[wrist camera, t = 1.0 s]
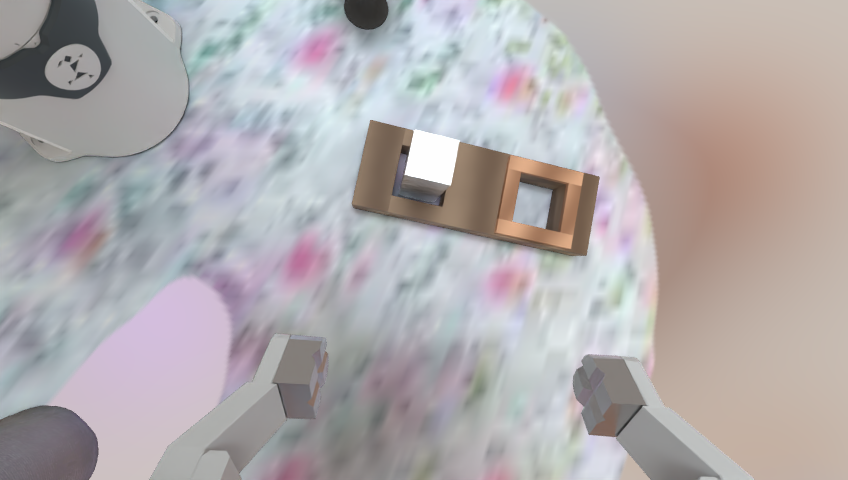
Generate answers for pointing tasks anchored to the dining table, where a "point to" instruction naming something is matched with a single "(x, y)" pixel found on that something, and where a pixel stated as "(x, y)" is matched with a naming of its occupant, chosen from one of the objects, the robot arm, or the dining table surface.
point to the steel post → (428, 166)
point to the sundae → (366, 12)
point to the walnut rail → (480, 193)
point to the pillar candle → (46, 445)
